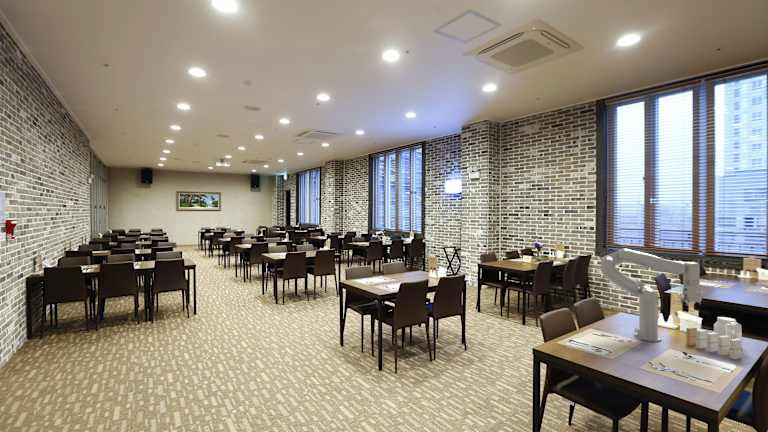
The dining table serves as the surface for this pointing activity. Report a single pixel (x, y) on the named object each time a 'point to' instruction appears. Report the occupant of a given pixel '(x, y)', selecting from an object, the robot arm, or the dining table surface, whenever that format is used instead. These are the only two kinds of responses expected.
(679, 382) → the dining table surface
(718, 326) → the jar
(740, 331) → the beer glass
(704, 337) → the domino
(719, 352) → the domino
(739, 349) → the domino
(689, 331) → the domino
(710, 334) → the domino
